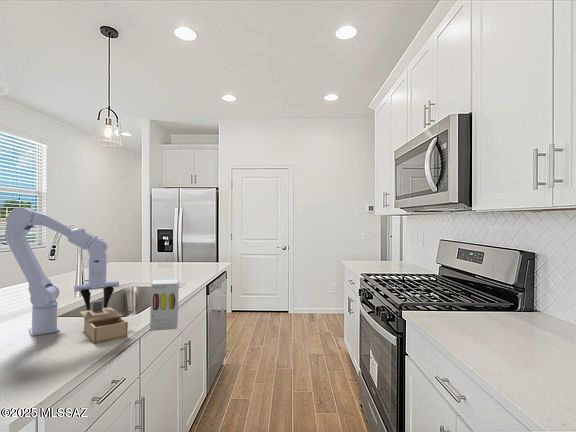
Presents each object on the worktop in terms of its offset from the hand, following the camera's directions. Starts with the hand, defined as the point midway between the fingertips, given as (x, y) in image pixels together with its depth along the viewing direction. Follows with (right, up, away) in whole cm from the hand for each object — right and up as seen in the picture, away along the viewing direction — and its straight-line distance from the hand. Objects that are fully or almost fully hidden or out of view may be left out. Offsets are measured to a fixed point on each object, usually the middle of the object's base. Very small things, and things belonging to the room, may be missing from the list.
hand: (96, 308), depth 124 cm
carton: (+8, -7, -9) cm, 14 cm away
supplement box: (+25, -7, +1) cm, 26 cm away
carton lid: (+3, -1, -4) cm, 5 cm away
